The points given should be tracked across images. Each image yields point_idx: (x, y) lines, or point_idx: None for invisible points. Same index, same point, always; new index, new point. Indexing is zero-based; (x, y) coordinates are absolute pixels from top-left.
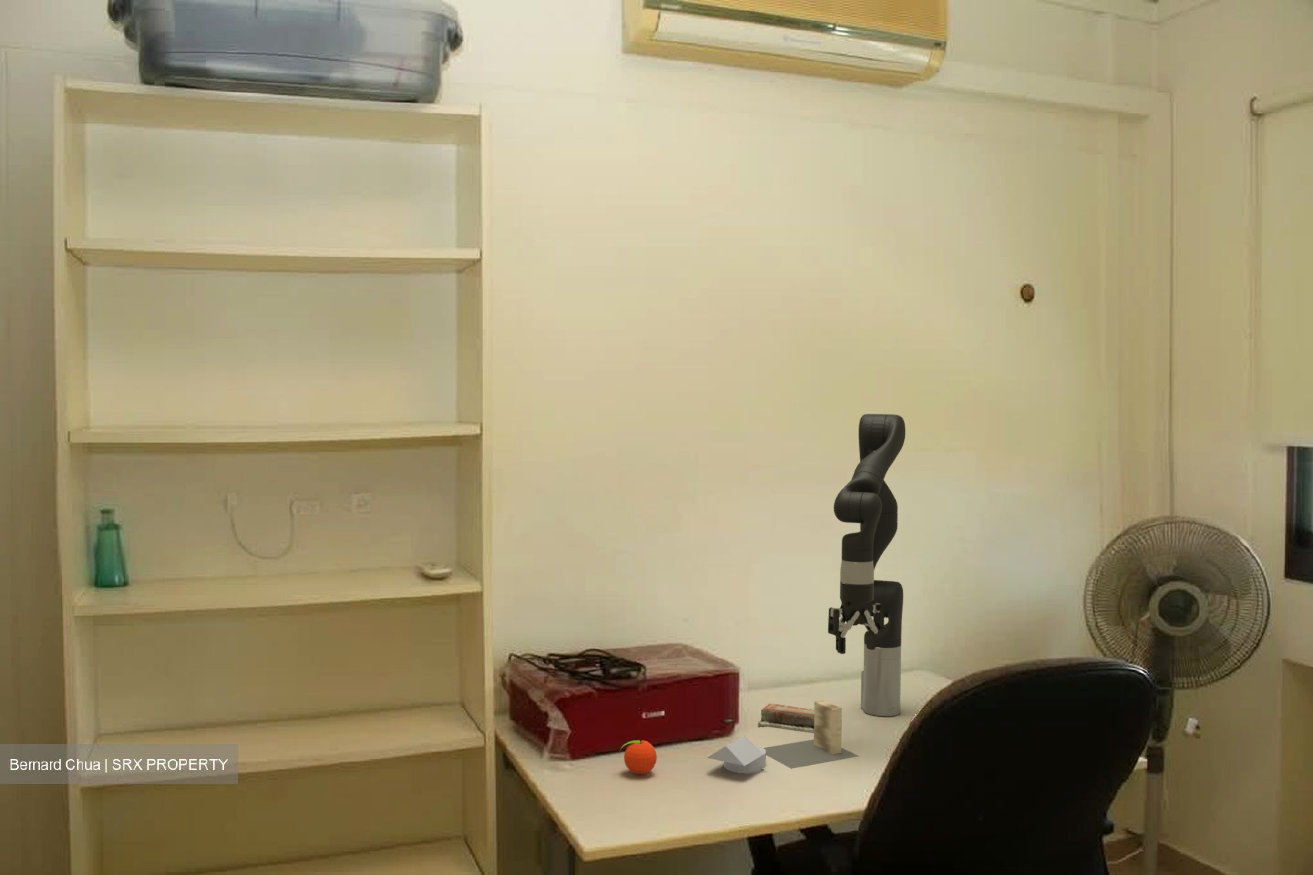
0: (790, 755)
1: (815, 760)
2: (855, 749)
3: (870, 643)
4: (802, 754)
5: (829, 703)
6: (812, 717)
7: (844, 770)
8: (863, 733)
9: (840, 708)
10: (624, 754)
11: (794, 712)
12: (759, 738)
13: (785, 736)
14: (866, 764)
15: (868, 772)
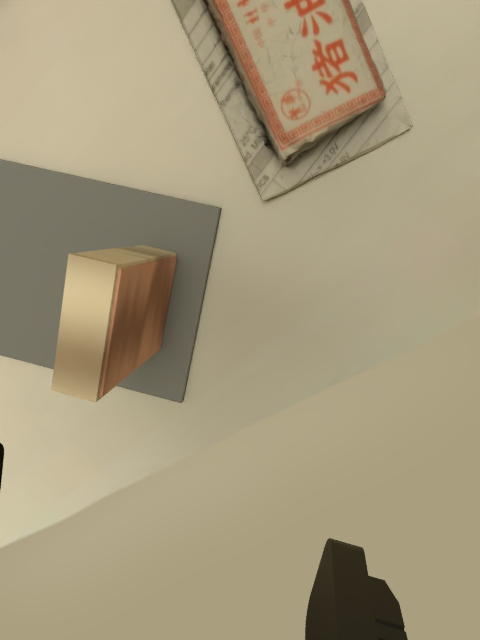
0: (19, 267)
1: (51, 343)
2: (237, 343)
3: (316, 636)
4: (55, 283)
5: (105, 318)
6: (256, 105)
7: (77, 432)
8: (399, 250)
9: (90, 399)
10: None
11: (223, 19)
12: (62, 54)
13: (150, 95)
14: (160, 443)
15: (118, 482)
